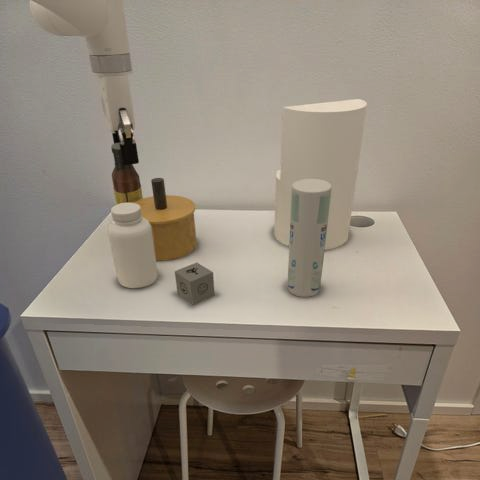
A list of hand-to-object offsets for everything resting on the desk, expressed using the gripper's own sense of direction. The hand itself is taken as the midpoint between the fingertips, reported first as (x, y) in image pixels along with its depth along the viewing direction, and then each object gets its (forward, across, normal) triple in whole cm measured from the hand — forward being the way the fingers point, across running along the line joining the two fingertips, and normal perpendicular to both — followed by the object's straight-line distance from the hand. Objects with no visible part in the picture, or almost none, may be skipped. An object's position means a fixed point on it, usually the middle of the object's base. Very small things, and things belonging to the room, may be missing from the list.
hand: (126, 157), depth 93 cm
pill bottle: (+18, +20, -4) cm, 27 cm away
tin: (+18, +8, +4) cm, 20 cm away
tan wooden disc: (+10, +8, +4) cm, 13 cm away
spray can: (+18, +36, +24) cm, 47 cm away
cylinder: (+18, +16, +37) cm, 44 cm away
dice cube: (+18, +30, +5) cm, 35 cm away
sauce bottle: (+18, -5, -1) cm, 18 cm away
